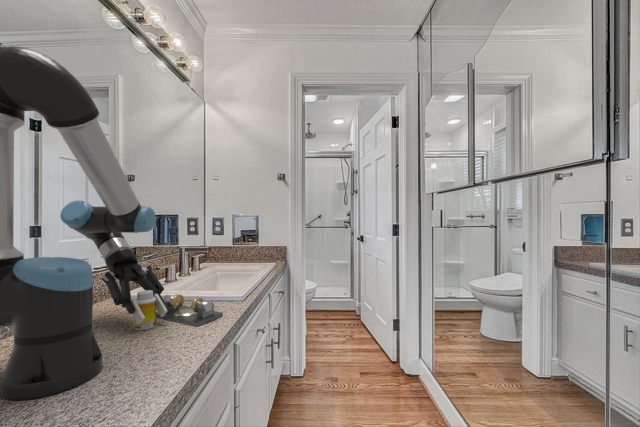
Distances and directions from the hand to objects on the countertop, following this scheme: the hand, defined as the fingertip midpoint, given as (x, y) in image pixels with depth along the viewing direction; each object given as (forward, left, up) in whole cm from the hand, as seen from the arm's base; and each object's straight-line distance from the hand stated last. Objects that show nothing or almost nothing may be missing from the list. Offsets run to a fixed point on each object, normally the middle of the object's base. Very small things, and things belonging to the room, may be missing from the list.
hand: (153, 317), depth 85 cm
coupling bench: (+12, +1, -3) cm, 12 cm away
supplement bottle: (0, +4, -4) cm, 5 cm away
